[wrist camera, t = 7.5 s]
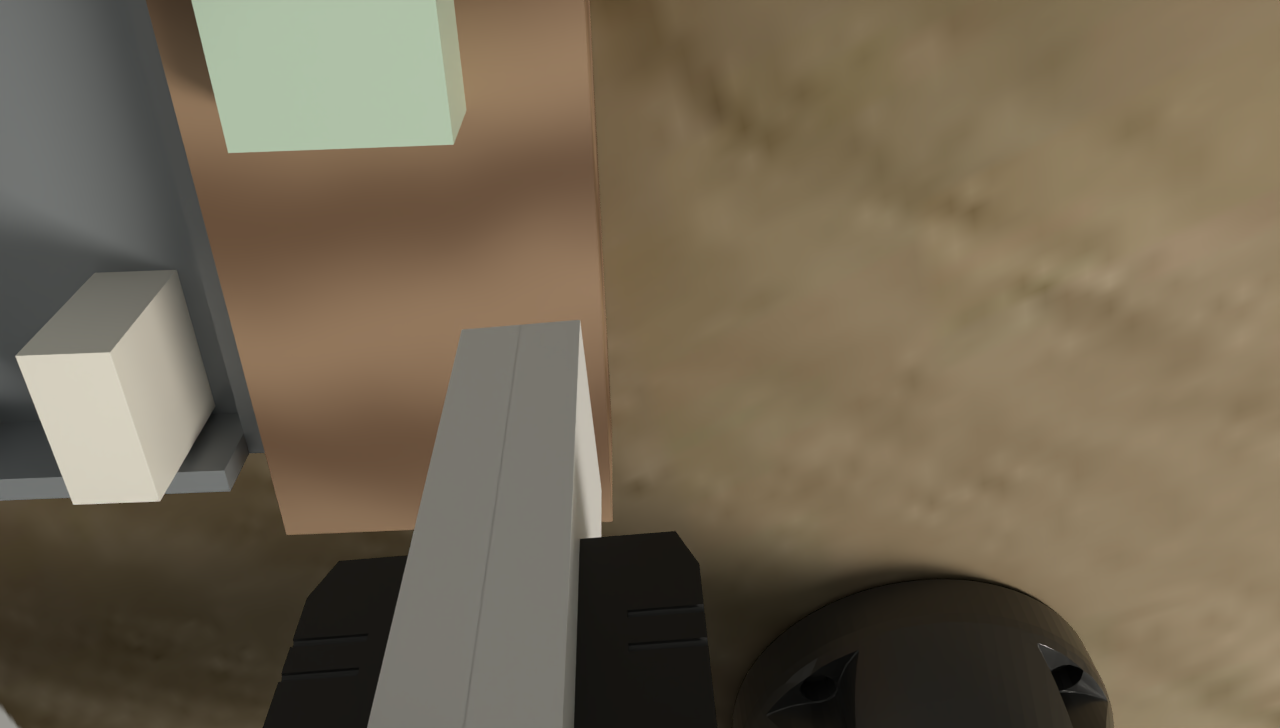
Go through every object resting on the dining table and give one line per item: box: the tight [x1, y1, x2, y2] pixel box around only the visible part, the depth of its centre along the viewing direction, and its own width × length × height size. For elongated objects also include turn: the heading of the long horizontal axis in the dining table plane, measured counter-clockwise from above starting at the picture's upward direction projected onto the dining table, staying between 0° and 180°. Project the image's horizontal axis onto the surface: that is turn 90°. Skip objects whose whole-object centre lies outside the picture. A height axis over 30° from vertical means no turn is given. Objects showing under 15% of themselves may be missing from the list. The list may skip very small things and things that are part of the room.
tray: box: [0, 0, 265, 500], centre depth 29 cm, size 18×10×4 cm, turn 2°
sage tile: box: [191, 0, 466, 153], centre depth 23 cm, size 5×5×2 cm
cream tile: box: [15, 270, 215, 505], centre depth 31 cm, size 5×5×2 cm
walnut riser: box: [146, 0, 613, 535], centre depth 29 cm, size 20×10×5 cm, turn 2°
